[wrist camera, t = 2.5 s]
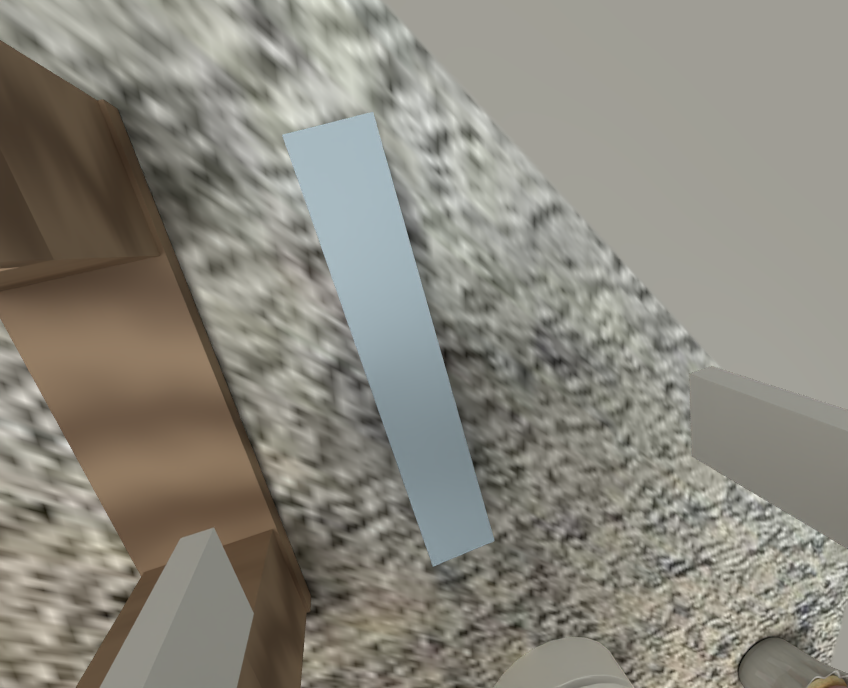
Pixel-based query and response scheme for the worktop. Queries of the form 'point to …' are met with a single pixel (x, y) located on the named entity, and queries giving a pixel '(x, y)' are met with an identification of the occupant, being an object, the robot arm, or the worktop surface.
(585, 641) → the honey pot
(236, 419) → the bracket
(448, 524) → the rail
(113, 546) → the worktop surface
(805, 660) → the cupcake
